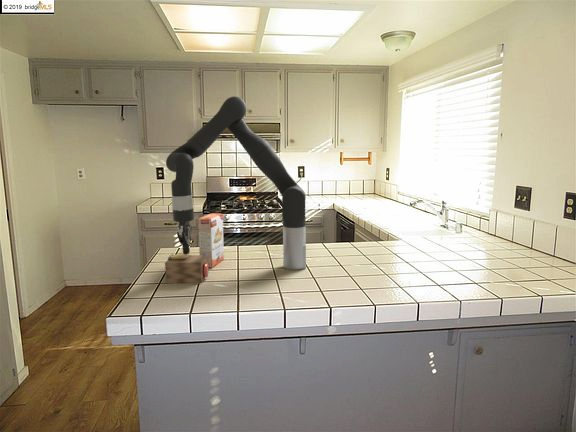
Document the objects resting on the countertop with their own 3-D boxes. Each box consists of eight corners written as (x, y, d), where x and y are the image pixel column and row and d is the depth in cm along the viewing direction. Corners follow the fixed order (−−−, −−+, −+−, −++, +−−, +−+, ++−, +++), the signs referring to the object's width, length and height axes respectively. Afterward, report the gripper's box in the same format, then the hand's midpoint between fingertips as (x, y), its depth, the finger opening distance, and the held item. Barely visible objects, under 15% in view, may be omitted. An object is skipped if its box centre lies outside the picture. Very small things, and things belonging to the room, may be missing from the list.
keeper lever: (189, 254, 155) (188, 251, 154) (187, 257, 151) (186, 253, 150) (171, 257, 155) (170, 254, 155) (168, 260, 151) (167, 257, 151)
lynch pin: (208, 274, 157) (208, 261, 156) (206, 279, 152) (205, 265, 151) (169, 275, 157) (168, 262, 156) (165, 279, 151) (164, 266, 151)
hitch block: (206, 275, 159) (206, 255, 158) (201, 283, 149) (200, 262, 148) (173, 275, 159) (172, 255, 158) (166, 283, 149) (164, 262, 148)
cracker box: (213, 268, 168) (211, 218, 164) (199, 267, 169) (197, 218, 165) (225, 259, 181) (223, 213, 178) (212, 258, 182) (210, 212, 179)
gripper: (177, 205, 156) (180, 249, 159) (167, 211, 143) (171, 258, 146) (197, 204, 156) (200, 248, 159) (189, 210, 143) (192, 258, 146)
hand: (186, 253), depth 153 cm, fingers closed
